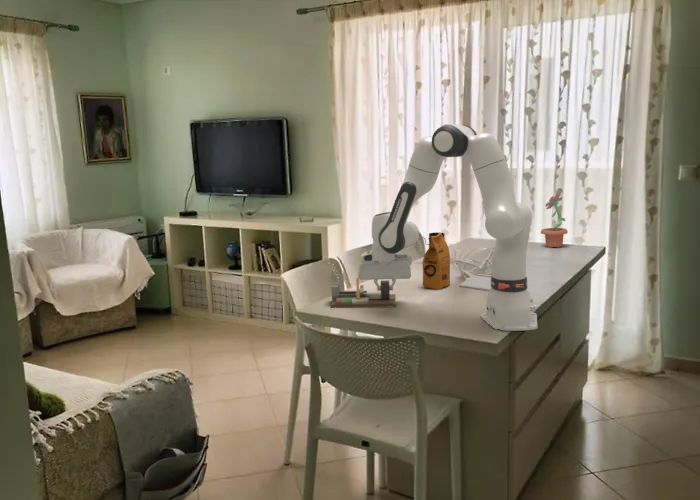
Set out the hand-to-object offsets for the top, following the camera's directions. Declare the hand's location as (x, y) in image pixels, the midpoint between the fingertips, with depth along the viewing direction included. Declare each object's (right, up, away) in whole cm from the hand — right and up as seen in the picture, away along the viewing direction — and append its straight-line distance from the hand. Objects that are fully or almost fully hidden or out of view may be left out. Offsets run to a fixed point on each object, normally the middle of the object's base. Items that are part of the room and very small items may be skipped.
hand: (385, 290), depth 233 cm
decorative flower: (+99, +17, +100) cm, 141 cm away
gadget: (+45, 0, +24) cm, 51 cm away
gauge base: (-8, -5, +2) cm, 9 cm away
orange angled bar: (-10, -2, -4) cm, 11 cm away
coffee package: (+23, 0, +23) cm, 32 cm away
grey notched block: (-5, -4, -1) cm, 6 cm away
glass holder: (+27, +8, +68) cm, 73 cm away
